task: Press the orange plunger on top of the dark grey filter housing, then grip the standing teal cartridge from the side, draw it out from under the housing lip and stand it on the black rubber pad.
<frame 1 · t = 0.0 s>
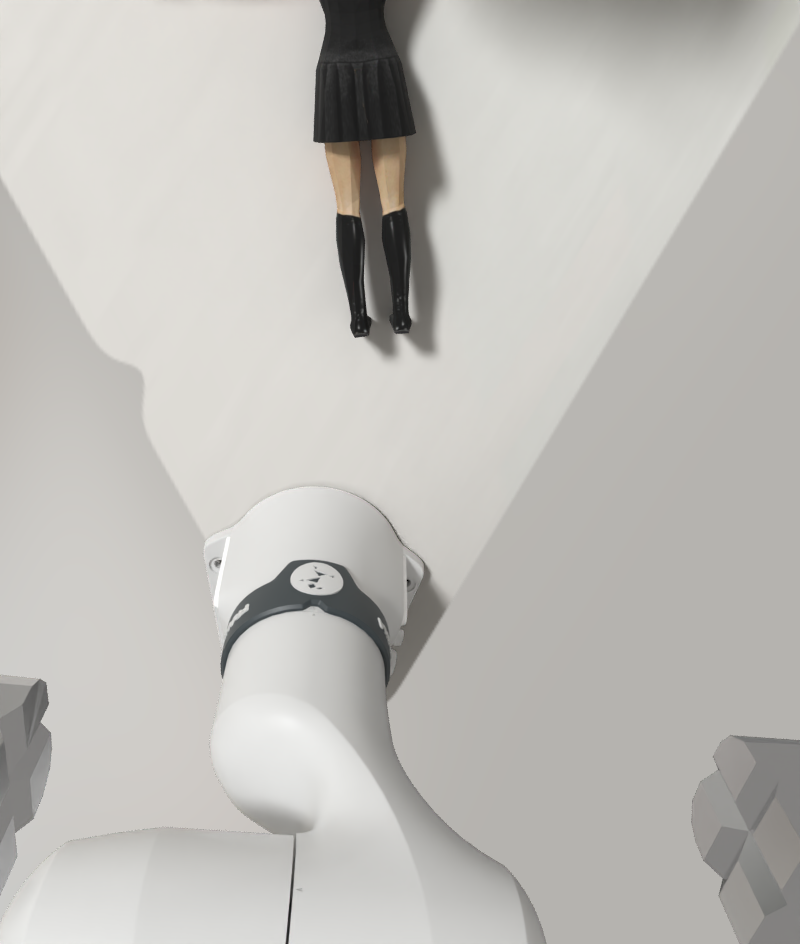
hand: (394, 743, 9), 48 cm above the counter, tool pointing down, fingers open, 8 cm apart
figurine: (361, 94, 49), on the counter
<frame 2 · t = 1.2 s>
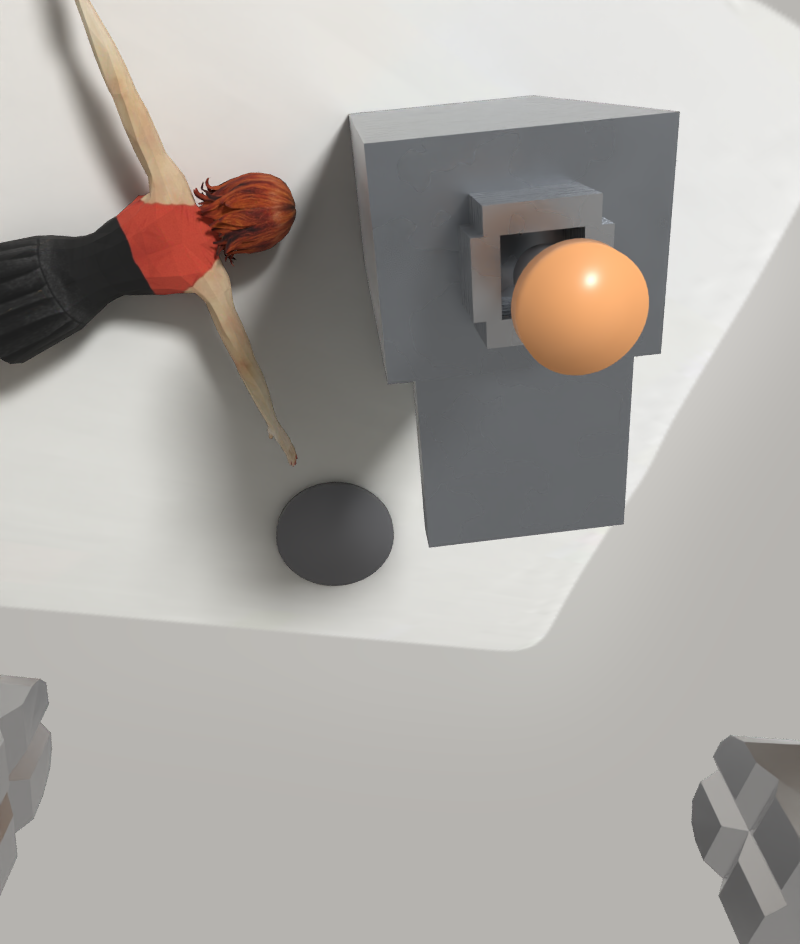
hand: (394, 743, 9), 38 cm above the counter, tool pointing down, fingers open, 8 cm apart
plunger: (561, 291, 22), point 24 cm above the counter, slide at 0.0 cm
figurine: (50, 279, 44), on the counter
housing: (449, 255, 44), on the counter
pad: (335, 533, 53), on the counter
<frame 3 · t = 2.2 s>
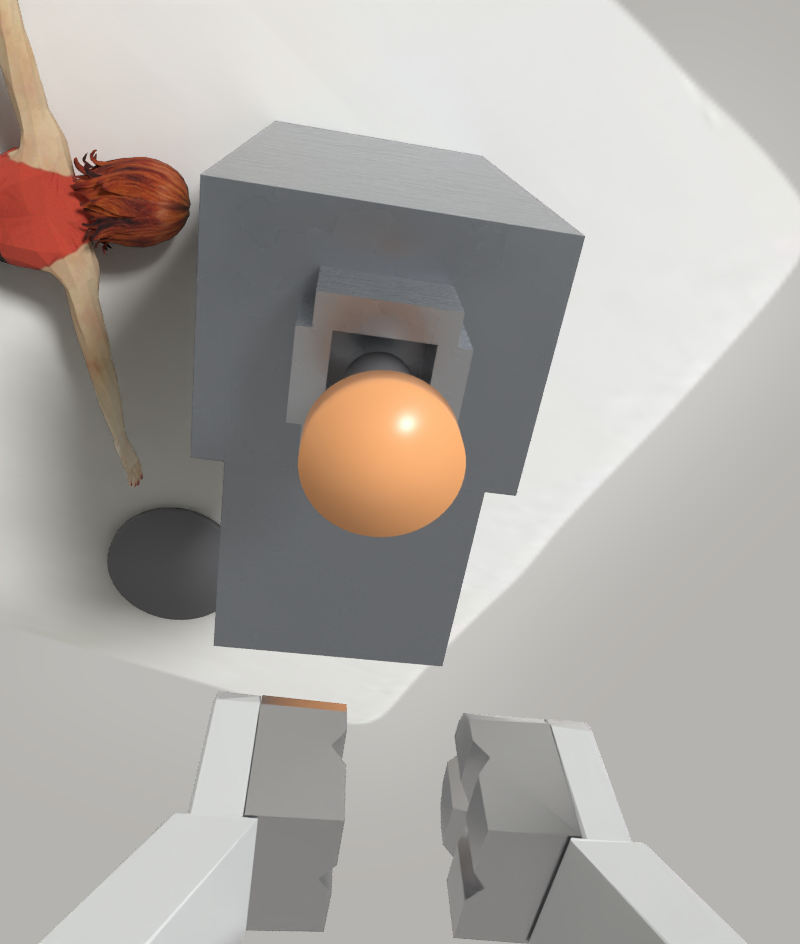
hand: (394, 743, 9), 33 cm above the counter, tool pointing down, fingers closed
plunger: (379, 421, 17), point 24 cm above the counter, slide at 0.0 cm
housing: (358, 301, 40), on the counter
pad: (176, 563, 47), on the counter
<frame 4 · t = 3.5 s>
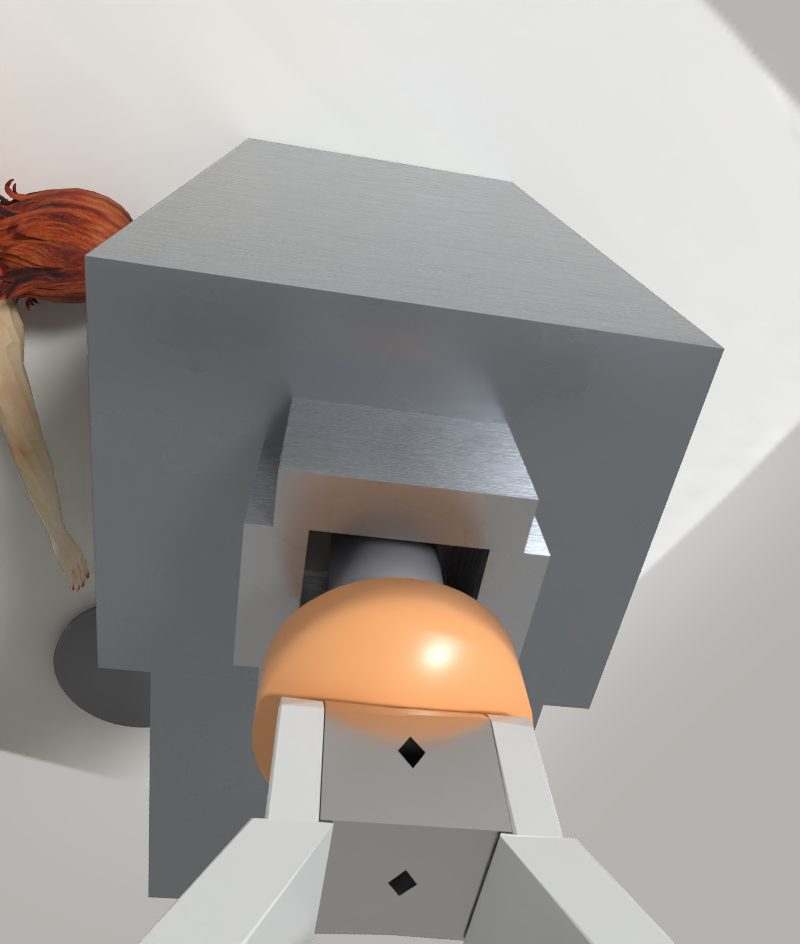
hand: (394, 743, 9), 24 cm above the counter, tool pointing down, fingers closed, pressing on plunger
plunger: (387, 622, 11), point 22 cm above the counter, slide at 1.9 cm, touching gripper
housing: (355, 360, 32), on the counter
pad: (137, 663, 40), on the counter
when the fingers open (12 cm above the counter, at t = 18.1 s): cartridge drops 1 cm, resting on pad.
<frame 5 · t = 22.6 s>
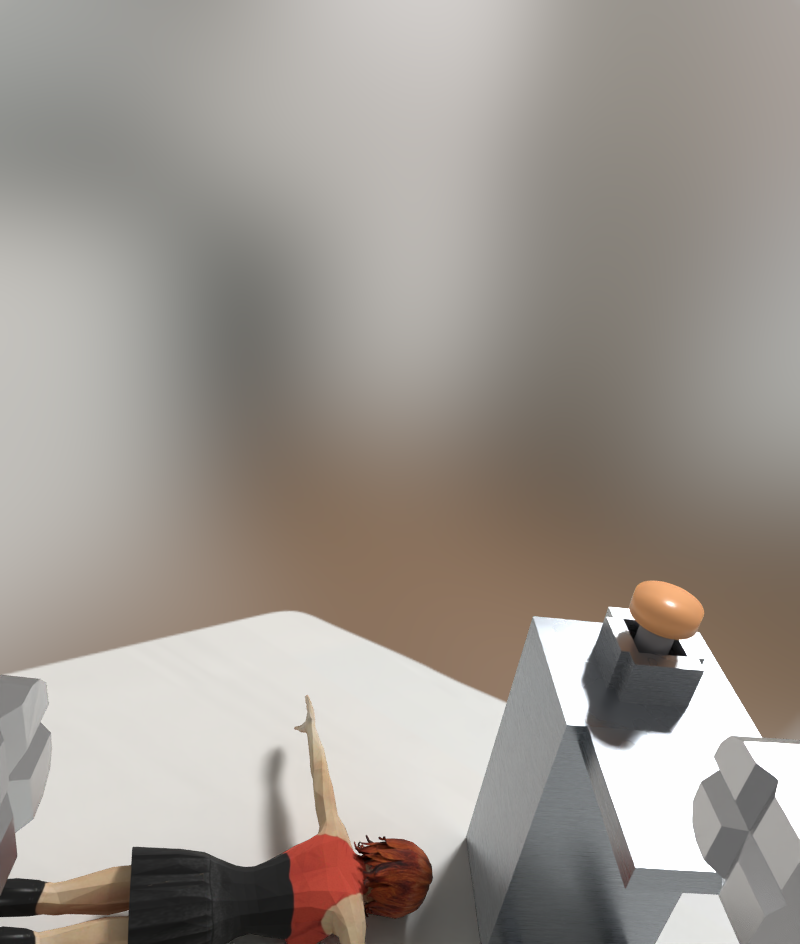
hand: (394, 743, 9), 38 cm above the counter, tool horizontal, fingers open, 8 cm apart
plunger: (655, 635, 39), point 22 cm above the counter, slide at 2.0 cm
figurine: (173, 939, 43), on the counter
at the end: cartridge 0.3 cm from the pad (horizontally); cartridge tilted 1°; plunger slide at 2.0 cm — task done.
